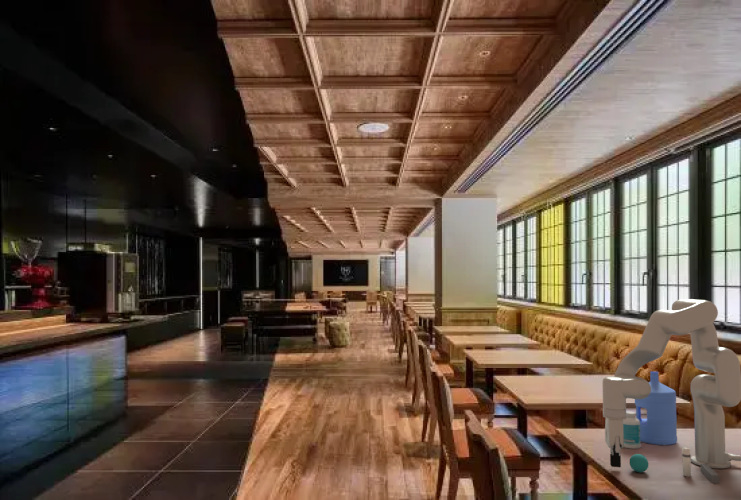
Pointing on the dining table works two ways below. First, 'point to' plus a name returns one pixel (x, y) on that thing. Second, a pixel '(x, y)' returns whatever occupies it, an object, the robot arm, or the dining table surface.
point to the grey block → (710, 473)
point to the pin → (686, 462)
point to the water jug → (658, 414)
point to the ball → (638, 463)
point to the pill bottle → (631, 431)
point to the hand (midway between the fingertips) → (615, 466)
